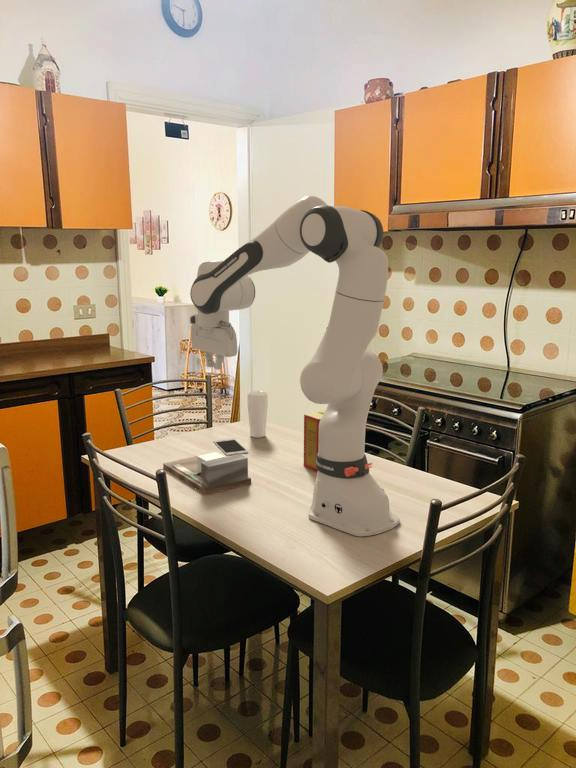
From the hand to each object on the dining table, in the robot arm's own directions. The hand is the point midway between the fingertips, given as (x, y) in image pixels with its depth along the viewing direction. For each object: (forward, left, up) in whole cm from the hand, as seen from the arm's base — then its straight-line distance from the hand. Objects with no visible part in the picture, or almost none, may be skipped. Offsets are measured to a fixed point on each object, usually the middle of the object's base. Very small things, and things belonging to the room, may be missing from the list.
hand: (214, 368), depth 180 cm
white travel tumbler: (+17, -26, -29) cm, 43 cm away
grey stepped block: (-6, +7, -29) cm, 31 cm away
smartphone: (+12, -12, -30) cm, 34 cm away
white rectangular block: (-9, +8, -28) cm, 30 cm away
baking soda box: (-19, -25, -29) cm, 43 cm away
